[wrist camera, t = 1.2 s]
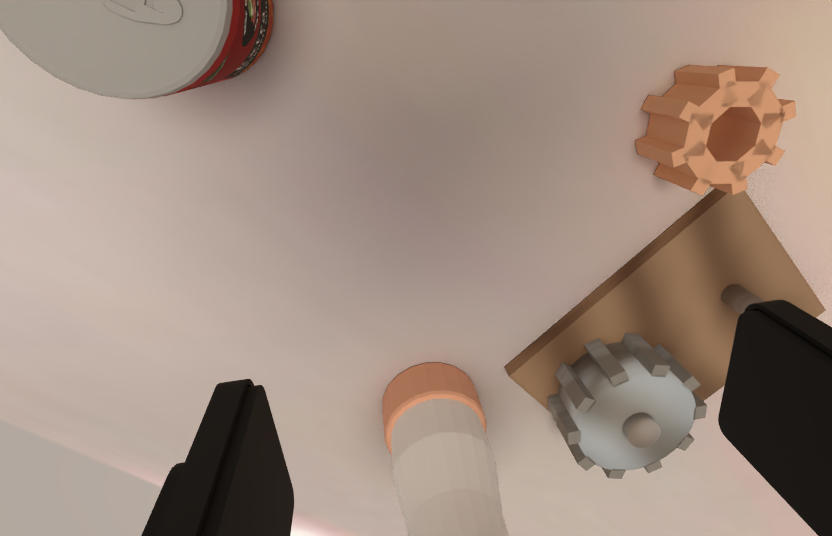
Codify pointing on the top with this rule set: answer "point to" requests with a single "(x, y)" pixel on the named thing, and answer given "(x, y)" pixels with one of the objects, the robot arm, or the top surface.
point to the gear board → (659, 336)
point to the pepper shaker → (441, 454)
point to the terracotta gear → (715, 127)
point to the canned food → (139, 41)
